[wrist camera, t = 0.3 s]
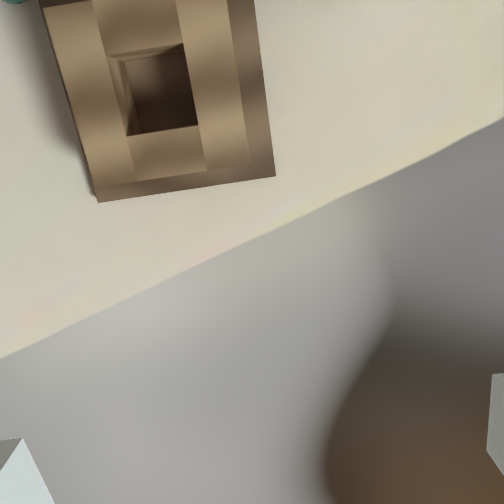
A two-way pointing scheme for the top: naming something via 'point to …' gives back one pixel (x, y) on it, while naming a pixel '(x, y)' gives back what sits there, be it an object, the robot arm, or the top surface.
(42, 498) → the robot arm
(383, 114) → the top surface
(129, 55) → the socket
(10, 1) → the peg
